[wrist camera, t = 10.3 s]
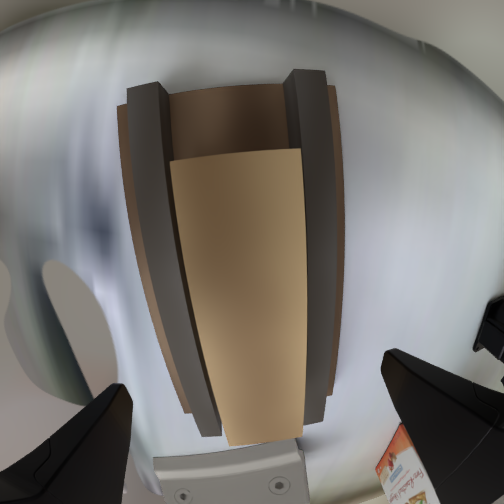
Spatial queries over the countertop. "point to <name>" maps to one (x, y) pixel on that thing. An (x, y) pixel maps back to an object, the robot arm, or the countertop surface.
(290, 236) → the wooden block
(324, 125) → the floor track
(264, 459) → the grey upright panel
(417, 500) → the cracker box
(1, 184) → the countertop surface
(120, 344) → the countertop surface
